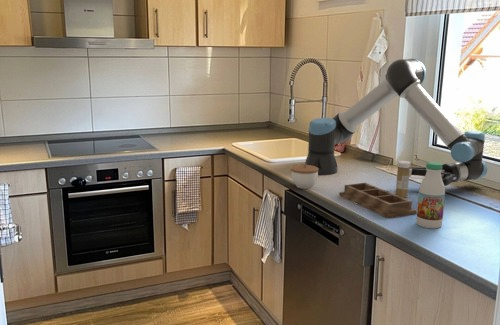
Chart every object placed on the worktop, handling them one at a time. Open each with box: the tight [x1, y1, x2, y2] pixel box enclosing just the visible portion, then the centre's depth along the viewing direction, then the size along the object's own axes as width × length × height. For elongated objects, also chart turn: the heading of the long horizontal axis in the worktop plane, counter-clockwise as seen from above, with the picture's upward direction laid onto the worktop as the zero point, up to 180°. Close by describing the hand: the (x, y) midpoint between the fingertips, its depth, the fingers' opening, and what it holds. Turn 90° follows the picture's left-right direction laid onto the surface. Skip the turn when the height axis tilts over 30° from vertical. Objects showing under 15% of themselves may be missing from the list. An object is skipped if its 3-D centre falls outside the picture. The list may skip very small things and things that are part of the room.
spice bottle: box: [394, 160, 411, 199], centre depth 185 cm, size 5×5×14 cm
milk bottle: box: [415, 161, 446, 229], centre depth 154 cm, size 8×8×20 cm
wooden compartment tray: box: [338, 182, 417, 219], centre depth 177 cm, size 28×12×4 cm, turn 24°
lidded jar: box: [290, 163, 319, 190], centre depth 198 cm, size 11×11×9 cm
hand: (410, 178), depth 186 cm, fingers open, 13 cm apart
